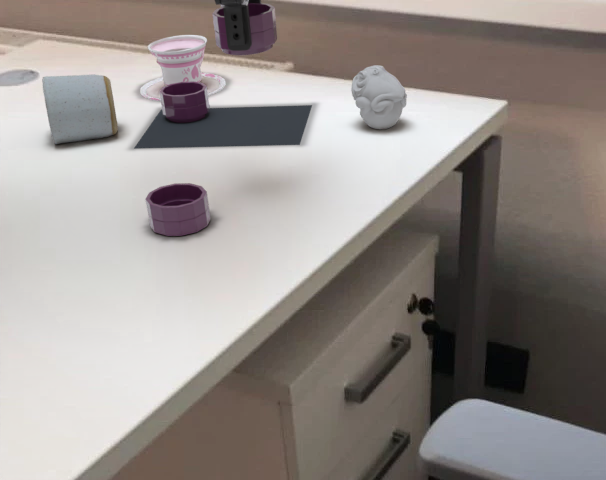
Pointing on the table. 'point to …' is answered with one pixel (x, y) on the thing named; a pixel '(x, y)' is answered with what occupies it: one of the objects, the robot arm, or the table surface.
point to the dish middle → (178, 209)
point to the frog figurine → (378, 97)
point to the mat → (230, 128)
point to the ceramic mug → (79, 107)
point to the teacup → (180, 61)
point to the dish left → (184, 101)
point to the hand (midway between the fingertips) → (246, 39)
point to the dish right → (259, 26)
